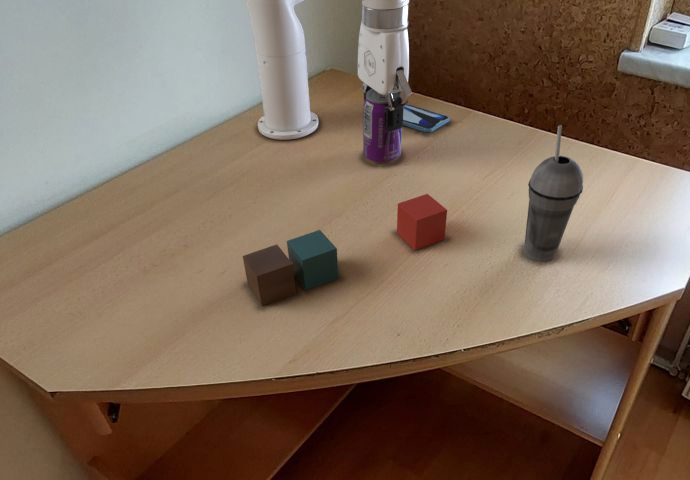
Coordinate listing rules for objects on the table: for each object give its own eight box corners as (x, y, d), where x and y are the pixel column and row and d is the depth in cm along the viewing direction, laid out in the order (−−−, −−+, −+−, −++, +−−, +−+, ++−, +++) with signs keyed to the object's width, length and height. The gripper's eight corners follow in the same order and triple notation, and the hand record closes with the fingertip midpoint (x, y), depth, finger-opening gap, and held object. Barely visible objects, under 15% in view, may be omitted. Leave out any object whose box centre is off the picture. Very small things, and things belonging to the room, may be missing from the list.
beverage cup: (556, 273, 90) (590, 145, 76) (507, 259, 93) (532, 133, 79) (570, 246, 95) (605, 121, 80) (524, 234, 98) (550, 110, 83)
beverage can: (398, 167, 114) (401, 103, 106) (360, 165, 116) (360, 102, 107) (402, 148, 119) (405, 86, 110) (366, 146, 120) (366, 84, 112)
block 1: (247, 285, 93) (242, 255, 89) (281, 273, 94) (277, 243, 90) (261, 306, 89) (256, 276, 85) (296, 293, 91) (292, 263, 87)
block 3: (396, 232, 100) (397, 203, 96) (425, 222, 101) (427, 193, 97) (415, 250, 96) (416, 220, 92) (444, 239, 98) (447, 209, 94)
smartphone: (393, 99, 133) (451, 116, 125) (393, 103, 134) (451, 121, 126) (371, 111, 129) (429, 130, 121) (371, 116, 130) (428, 135, 122)
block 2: (290, 270, 95) (286, 240, 91) (322, 259, 96) (319, 229, 92) (305, 290, 91) (302, 260, 87) (338, 278, 93) (336, 248, 89)
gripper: (339, 5, 104) (342, 107, 117) (393, 36, 93) (389, 146, 106) (378, -4, 106) (376, 98, 119) (435, 25, 95) (426, 134, 108)
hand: (382, 120), depth 112 cm, fingers closed on beverage can, 7 cm apart
